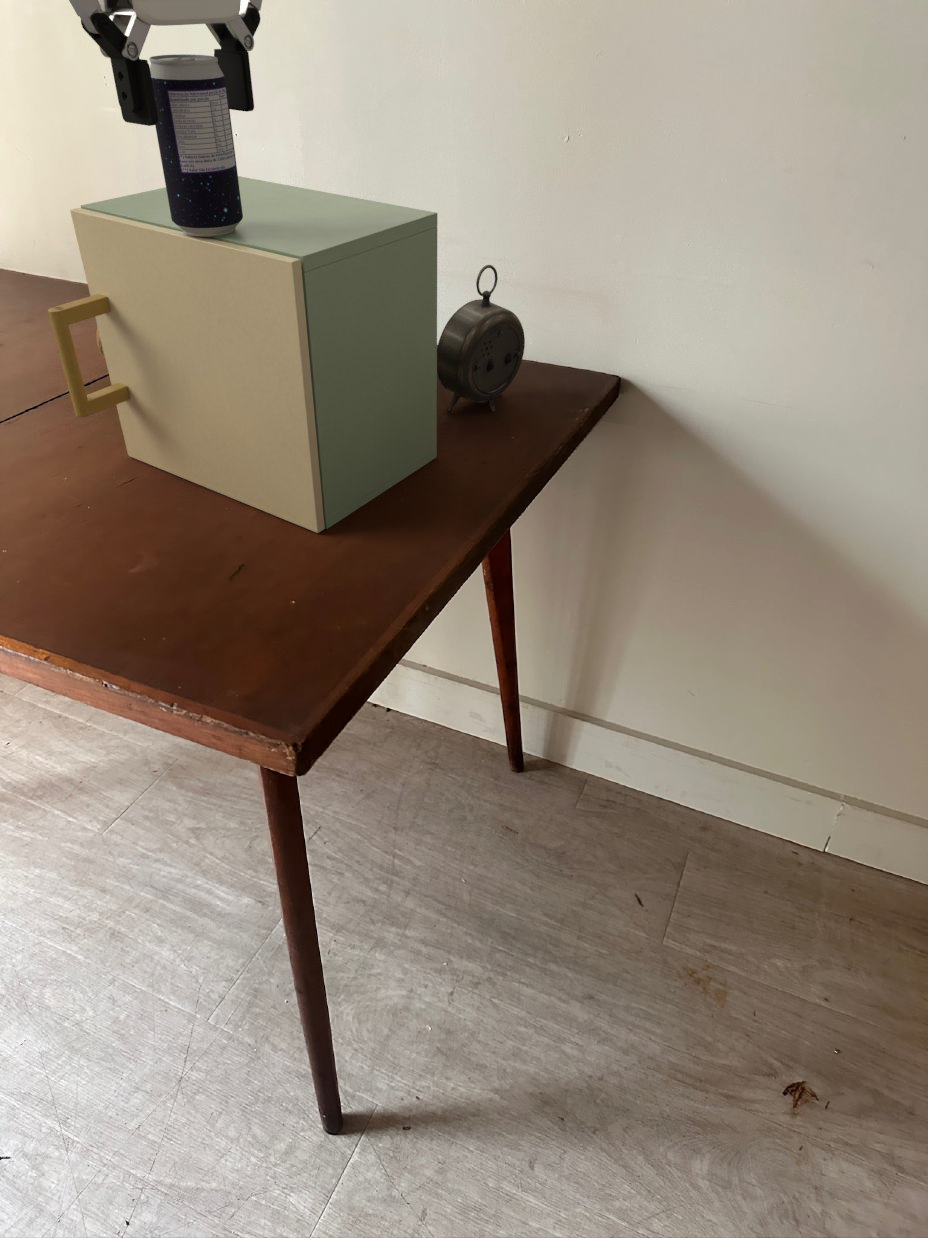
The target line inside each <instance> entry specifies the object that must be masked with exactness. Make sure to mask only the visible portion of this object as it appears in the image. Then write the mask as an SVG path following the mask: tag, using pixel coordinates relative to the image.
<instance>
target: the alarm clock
mask: <svg viewBox="0 0 928 1238" xmlns="http://www.w3.org/2000/svg"><path fill="white" fill-rule="evenodd" d="M487 269H491V270H492V271H493V275H494V282H493V286H492V288H491V289H490V291H489V290H483V292H481V290H480V280H481V276H482V275H483V273H484V271H485V270H487ZM475 283H476V291H477V293H478V295H480V296H481V297H482V298H481V299H480V298H479V299H474V300H471V301H469V302H467V303H465V304H463V305H462V306H460V307H459V308H458V309H457V310H456V311H455V312H454V313H453V314H452V316H451V317H450V318H449V319H448V321H447V322H446V324H445V326H444V328H443V330H442V332H441V335H440V337H439V340H438V342H437V378H438V380H439V382H440V383H441V385H442V386H443V387H444V388H445V390H448V391H449V392H451V393H453V396H452V398H451V401H450V404H449V407H447V408H446V413H448V414H451V413H452V411H453V408H454V407H455V406H456V404H457V403H458V402H459V399H460V398H463V399H465V400H467V401H468V402H472V403H478V404H480V403H481V404H482V403H487V402H488V404H489V408H490V411H492V412H494V413H495V412H496V406H495V399H496V398H497V397H499V396H500V395H502V394H503V392H505V391H506V390H507V389H508V388H509V386H510V385H511V384H512V382H513V381H514V379H515V377H516V376H517V374H518V372H519V369H520V367H521V364H522V361H523V357H524V354H525V347H526V346H525V344H526V340H525V339H526V338H525V330H524V328H523V324H522V322H521V320H520V319H519V317H518V316H517V315H516V314H515V313H514V312H513V311H512V310H510V309H507V308H505V307H503V306H500V305H498V304H496V303H494V302H491V301H490V298H491V296H492V294H493V293H494V291H495V289H496V287H497V284H498V271H497V269H496V268H495V266H493V264H486V265H485V266H483V267H482V268H480V270H479V272H478V274H477V277H476V282H475Z"/></svg>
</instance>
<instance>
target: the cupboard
mask: <svg viewBox="0 0 928 1238" xmlns="http://www.w3.org/2000/svg"><path fill="white" fill-rule="evenodd" d="M238 181H239V189H240V197H241V205H242V213H243V218H242V220H241V221H240V223H239V224H238V225H237V226H236V227H235V231H233V232H232V233H229V234H226V235H220V236H210V237H206V238H210V239H215V240H219V241H223V242H228V243H232V244H236V245H241V246H245V247H249V248H253V249H258V250H262V251H266V252H271V253H275V254H279V255H283V256H288V257H292V258H296V259H300V260H301V269H302V280H303V291H304V302H305V314H306V325H307V336H308V347H309V359H310V370H311V381H312V392H313V403H314V415H315V426H316V437H317V448H318V460H319V471H320V482H321V493H322V504H323V516H324V527H325V529H326V530H328V529H329V528H331V527H332V526H334V525H336V524H337V523H339V522H340V521H342V520H343V519H345V518H346V517H348V516H349V515H351V514H352V513H354V512H355V511H357V510H359V509H361V507H363V506H365V505H366V504H368V503H369V502H371V501H372V500H374V499H375V498H377V497H379V496H380V495H382V494H383V493H384V492H386V491H388V490H389V489H391V488H392V487H394V486H395V485H397V484H398V483H400V482H401V481H403V480H404V479H406V478H407V477H408V476H411V475H412V474H414V473H415V472H417V471H418V470H419V469H421V468H422V467H424V466H425V465H427V464H429V463H430V462H432V461H434V460H435V459H437V456H438V451H437V450H438V448H437V447H438V444H437V443H438V436H437V435H438V434H437V433H438V426H437V425H438V374H437V347H438V212H435V211H429V210H425V209H419V208H413V207H408V206H403V205H397V204H392V203H386V202H381V201H375V200H371V199H364V198H359V197H353V196H348V195H342V194H339V193H338V194H337V193H332V192H327V191H321V190H316V189H310V188H305V187H301V186H300V187H298V186H294V185H288V184H283V183H279V182H278V183H277V182H272V181H267V180H261V179H256V178H250V177H245V176H239V175H238ZM80 208H82V209H86V210H90V211H94V212H99V213H103V214H107V215H112V216H116V217H120V218H125V219H129V220H133V221H137V222H142V223H146V224H150V225H155V226H159V227H163V228H168V229H172V230H176V231H180V232H183V230H182V229H181V228H180V227H179V226H177V225H176V224H175V223H174V222H173V221H172V219H171V213H170V207H169V201H168V196H167V190H166V186H165V187H160V188H157V189H151V190H147V191H143V192H138V193H133V194H128V195H123V196H118V197H114V198H113V197H112V198H109V199H104V200H100V201H95V202H90V203H86V204H85V203H84V204H81V205H80Z"/></svg>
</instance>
